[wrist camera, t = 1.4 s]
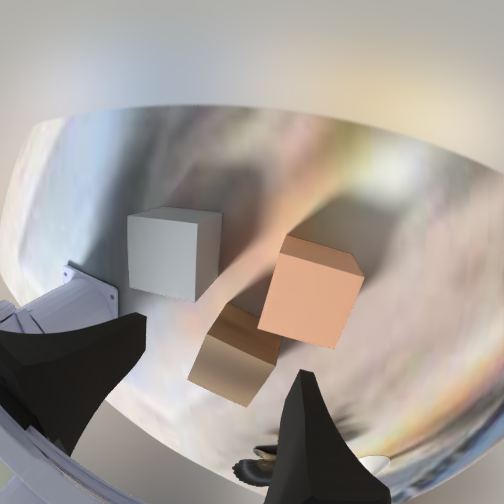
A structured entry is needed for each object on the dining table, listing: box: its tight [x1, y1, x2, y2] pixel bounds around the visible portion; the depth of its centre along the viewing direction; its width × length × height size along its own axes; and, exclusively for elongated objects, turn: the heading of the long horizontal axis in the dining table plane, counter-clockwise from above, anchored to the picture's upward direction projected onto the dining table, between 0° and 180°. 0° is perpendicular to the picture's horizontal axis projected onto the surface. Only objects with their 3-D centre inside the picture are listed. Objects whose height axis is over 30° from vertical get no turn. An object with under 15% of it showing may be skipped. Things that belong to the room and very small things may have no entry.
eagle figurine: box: [232, 434, 279, 487], centre depth 23 cm, size 8×7×9 cm
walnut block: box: [187, 303, 282, 407], centre depth 20 cm, size 5×5×5 cm
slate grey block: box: [127, 207, 223, 303], centre depth 19 cm, size 5×5×5 cm
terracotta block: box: [257, 235, 365, 349], centre depth 18 cm, size 5×5×5 cm
